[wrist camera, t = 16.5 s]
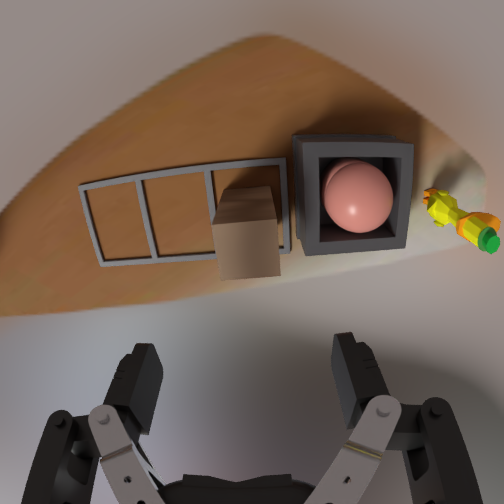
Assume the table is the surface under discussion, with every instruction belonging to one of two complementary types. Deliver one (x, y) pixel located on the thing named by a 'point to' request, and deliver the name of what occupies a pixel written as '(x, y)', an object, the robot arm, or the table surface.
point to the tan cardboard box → (246, 234)
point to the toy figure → (463, 220)
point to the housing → (314, 214)
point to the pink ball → (355, 194)
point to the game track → (211, 204)
